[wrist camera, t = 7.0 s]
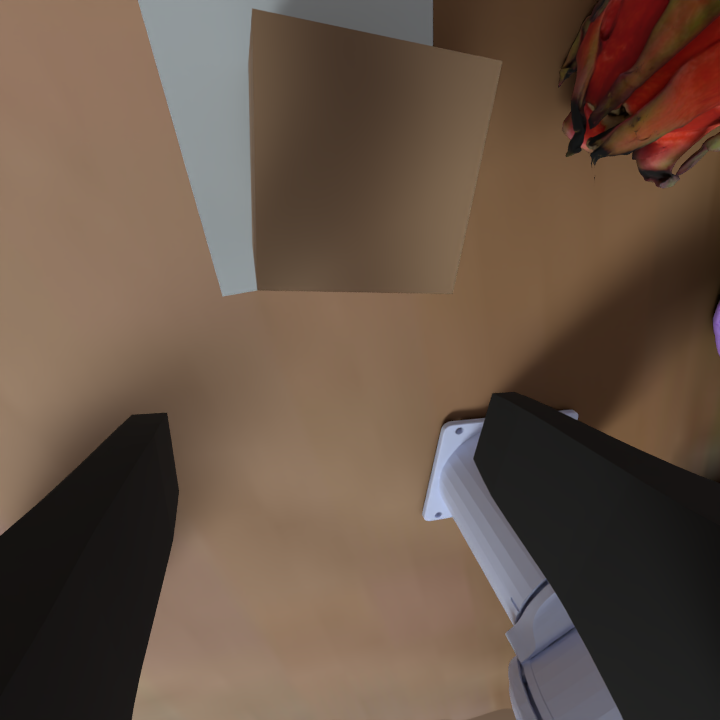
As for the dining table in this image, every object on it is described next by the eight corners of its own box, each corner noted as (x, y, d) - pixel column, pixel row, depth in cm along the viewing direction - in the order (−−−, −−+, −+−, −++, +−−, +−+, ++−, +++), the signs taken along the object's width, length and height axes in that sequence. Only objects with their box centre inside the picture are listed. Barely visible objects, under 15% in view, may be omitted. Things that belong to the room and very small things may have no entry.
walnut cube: (412, 92, 12) (502, 61, 8) (391, 252, 15) (452, 293, 10) (248, 63, 11) (252, 8, 7) (252, 245, 13) (257, 290, 9)
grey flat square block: (397, 14, 14) (433, -16, 11) (405, 243, 18) (433, 259, 15) (158, 27, 12) (136, -4, 10) (225, 272, 16) (222, 296, 14)
